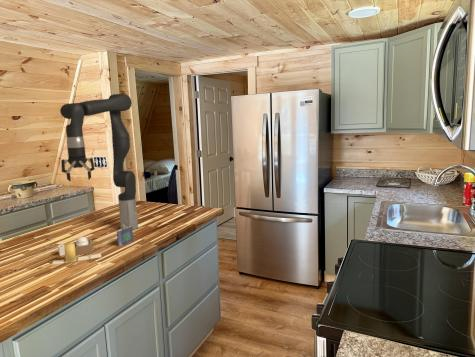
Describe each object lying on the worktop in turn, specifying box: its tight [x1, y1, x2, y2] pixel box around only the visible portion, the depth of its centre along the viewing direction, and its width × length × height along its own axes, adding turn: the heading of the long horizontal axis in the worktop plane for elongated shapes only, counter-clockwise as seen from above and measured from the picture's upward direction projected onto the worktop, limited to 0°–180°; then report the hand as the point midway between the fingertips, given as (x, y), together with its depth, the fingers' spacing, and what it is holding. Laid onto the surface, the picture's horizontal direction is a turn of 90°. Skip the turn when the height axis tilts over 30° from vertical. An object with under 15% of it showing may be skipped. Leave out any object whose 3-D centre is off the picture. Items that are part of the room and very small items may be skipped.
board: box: [51, 239, 102, 266], centre depth 155 cm, size 20×18×5 cm
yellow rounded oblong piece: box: [64, 242, 77, 263], centre depth 149 cm, size 4×4×7 cm
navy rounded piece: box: [116, 224, 134, 247], centre depth 168 cm, size 9×3×11 cm, turn 151°
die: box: [57, 243, 66, 257], centre depth 157 cm, size 4×4×4 cm
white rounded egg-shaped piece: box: [75, 236, 89, 246], centre depth 159 cm, size 5×5×6 cm
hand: (79, 180), depth 166 cm, fingers open, 8 cm apart
